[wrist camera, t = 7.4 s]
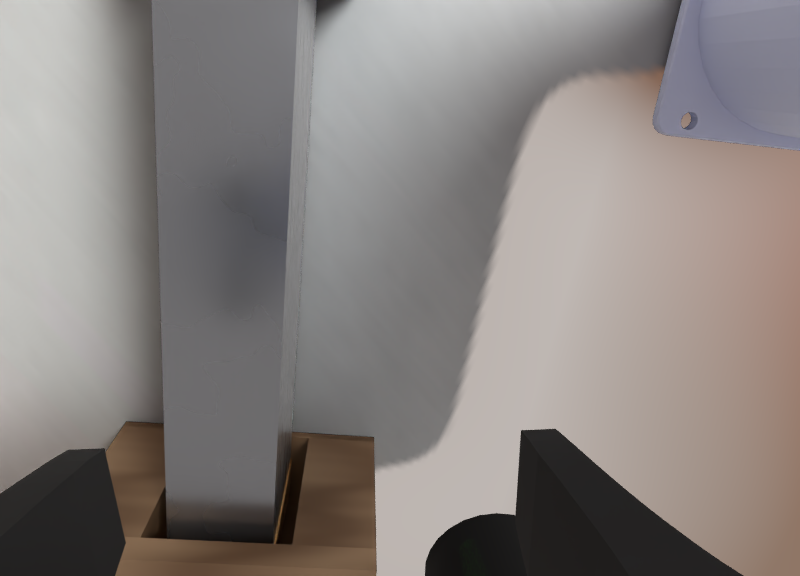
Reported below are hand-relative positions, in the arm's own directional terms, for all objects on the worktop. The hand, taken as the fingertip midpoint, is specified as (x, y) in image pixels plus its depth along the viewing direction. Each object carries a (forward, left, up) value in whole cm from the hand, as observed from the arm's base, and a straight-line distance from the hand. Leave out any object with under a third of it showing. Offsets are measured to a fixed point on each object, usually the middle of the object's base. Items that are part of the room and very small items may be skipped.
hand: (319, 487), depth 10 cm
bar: (+3, -1, -10) cm, 11 cm away
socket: (+3, +8, -10) cm, 13 cm away
